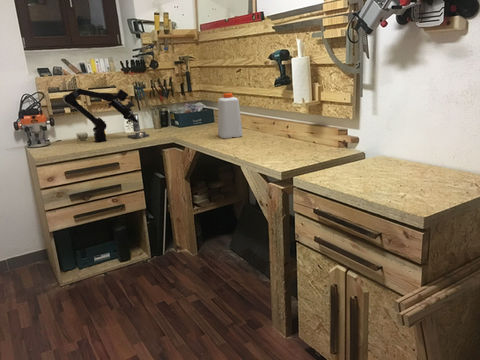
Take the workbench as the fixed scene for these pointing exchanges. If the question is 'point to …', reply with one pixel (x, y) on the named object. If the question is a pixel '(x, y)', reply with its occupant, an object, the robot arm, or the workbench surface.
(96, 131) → the robot arm
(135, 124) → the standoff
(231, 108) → the plastic bottle
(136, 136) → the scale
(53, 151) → the workbench surface
